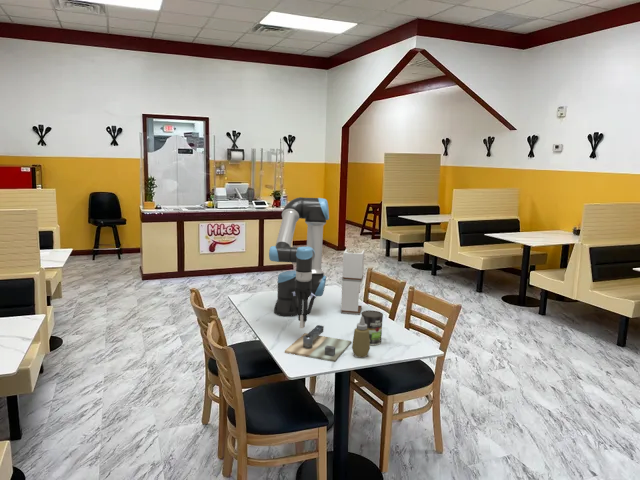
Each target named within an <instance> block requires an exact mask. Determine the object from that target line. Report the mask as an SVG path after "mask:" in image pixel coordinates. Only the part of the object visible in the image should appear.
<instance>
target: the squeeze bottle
mask: <svg viewBox="0 0 640 480" xmlns="http://www.w3.org/2000/svg"><path fill="white" fill-rule="evenodd" d="M351 348H352V349H351V350H352V352H353V355H354V356H355V357H357V358H366V357H367V356H368V354H369V352H370V348H371V345H370V341H369V330H368V329H367V324H365V321H364V317H363V316H362V315H361V317H360V320H359V323H357V324H356V328H355V329H354V332H353V338H352V343H351Z"/></svg>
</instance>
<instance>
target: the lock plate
mask: <svg viewBox="0 0 640 480" xmlns="http://www.w3.org/2000/svg"><path fill="white" fill-rule="evenodd" d="M305 335H306V337H310V334H308V332H307V333H306V332H305V333H303V334H301V336H300V337H298V338H297V339H296V340H295V341H294V342H293V343H292V344H291V345H289V346H288V347H287V348H285V350H284V354H289V353H291V354H290V355H294V354H295V355H294V356H301V357H304V358H305V357H306V358H310V359H317V360H321V361H322V360H323V361H327V362H332V363H335V362H337V361H338V360H339V358H340V357H341V356H342V354H343V353H344V352H345V351H346V350H347V349H348V348H349V346H350V345H352V340H348V339H344V338H343V339H341V338H338V337H337V338H336V337H330V336H323V335H319V336H318V337H317V338H316V339H315V340H313V347H312V348H304V347H303V336H305Z"/></svg>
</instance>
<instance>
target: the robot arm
mask: <svg viewBox="0 0 640 480" xmlns="http://www.w3.org/2000/svg"><path fill="white" fill-rule="evenodd" d="M329 209H330V208H329V203H328V200H327V199H326V198H324V197H323V198H322V197H295V198H293V199H292V200H290V201H289V202H288V203H287V204H285V206H284V208H283V209H282V212H281V218H282V219H281V224H280V227H279V232H278V235H277V239H276V243H275V245H272V246H270V247H269V252H268V258H269V261H270V262H276V263H292V264H293V263H295V270H286V271H282V272H280V273H278V276H277V283H276V284H277V299H276V302H275V305H274V308H273V313H274V314H275V315H277V316H279V317H280V316H281V317H296V316H297V317H298V318H297V319H298V321H299V328H300V329H301V330H302V329H304V328H305V326H306V322H307V320H308V315H310V314H311V313H312V309H313V305H314V302H315V300H316V299H317V297H322V296H323V295H324V292H325V287H326V282H327V276H326V275H325V272H324V270H322V262H323V261H322V260H323V259H322V258H323V239H324V237H323V236H324V235H323V234H324V226H325V225H326V224H327V221H329V219H330V210H329ZM300 219H303V220H304V223H305V224H306V225H307V233H306V246H299V247H294V246H292V243H293V239H294V235H295V230H296V225H297V222H298V221H299V220H300ZM309 298H310V299H309ZM308 301H309V303H308Z"/></svg>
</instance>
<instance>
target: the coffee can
mask: <svg viewBox="0 0 640 480" xmlns="http://www.w3.org/2000/svg"><path fill="white" fill-rule="evenodd" d="M360 315H361V317H362V316H363V317H364V321H365V324H367V329H368V330H369V341H370V346H378V345H381V344H382V332H383V319H384V313H382V312H381V311H378V310H363V311H361V313H360Z"/></svg>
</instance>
